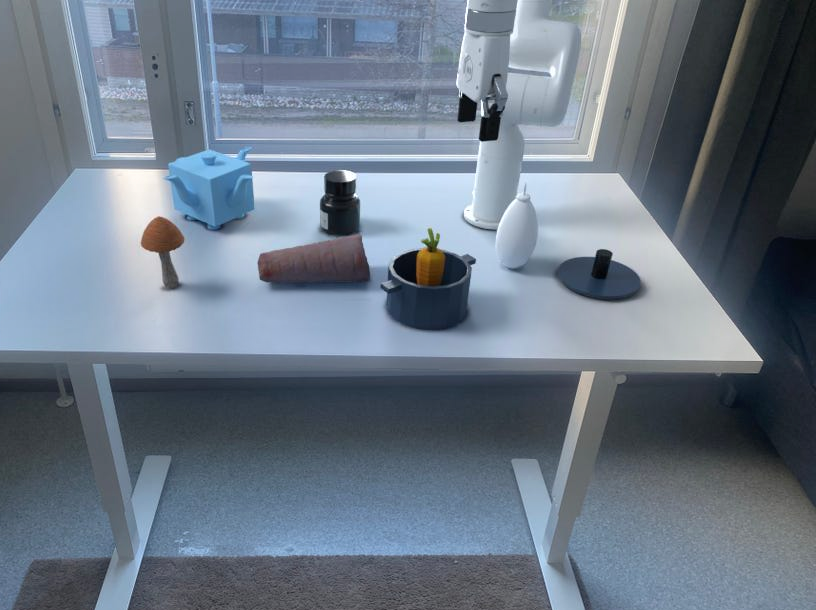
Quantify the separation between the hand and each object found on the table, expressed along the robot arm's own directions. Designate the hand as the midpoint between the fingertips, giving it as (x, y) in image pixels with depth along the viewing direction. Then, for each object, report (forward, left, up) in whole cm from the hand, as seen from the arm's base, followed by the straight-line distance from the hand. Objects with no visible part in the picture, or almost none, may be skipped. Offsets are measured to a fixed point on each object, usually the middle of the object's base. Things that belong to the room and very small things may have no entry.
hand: (476, 130), depth 119 cm
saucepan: (+7, -9, -30) cm, 32 cm away
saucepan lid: (+5, +27, -29) cm, 40 cm away
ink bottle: (-29, -17, -30) cm, 45 cm away
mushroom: (-11, -55, -30) cm, 64 cm away
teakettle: (-40, -43, -30) cm, 66 cm away
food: (-8, -27, -30) cm, 41 cm away
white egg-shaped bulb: (-4, +13, -30) cm, 33 cm away
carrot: (+7, -9, -30) cm, 32 cm away
